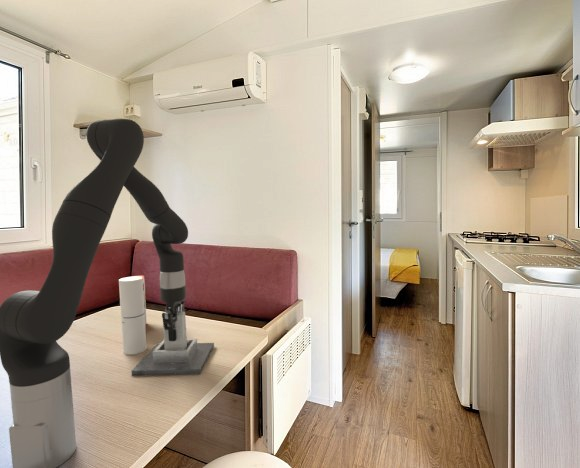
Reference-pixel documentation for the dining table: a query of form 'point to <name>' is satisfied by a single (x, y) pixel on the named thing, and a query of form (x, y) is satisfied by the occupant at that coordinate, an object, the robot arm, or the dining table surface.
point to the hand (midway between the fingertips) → (175, 337)
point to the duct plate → (174, 360)
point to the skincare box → (177, 334)
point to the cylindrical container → (132, 315)
